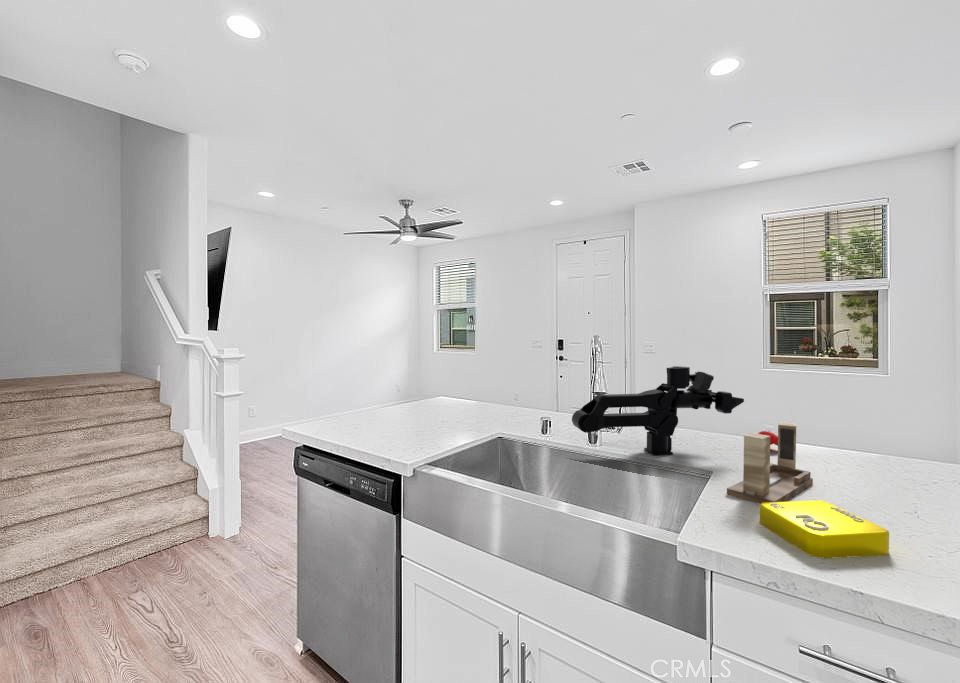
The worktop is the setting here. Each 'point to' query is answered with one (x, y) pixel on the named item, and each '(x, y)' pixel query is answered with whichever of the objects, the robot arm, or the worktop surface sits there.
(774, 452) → the worktop surface
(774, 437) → the cap
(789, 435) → the tan wooden upright block
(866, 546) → the element tile
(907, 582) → the worktop surface
